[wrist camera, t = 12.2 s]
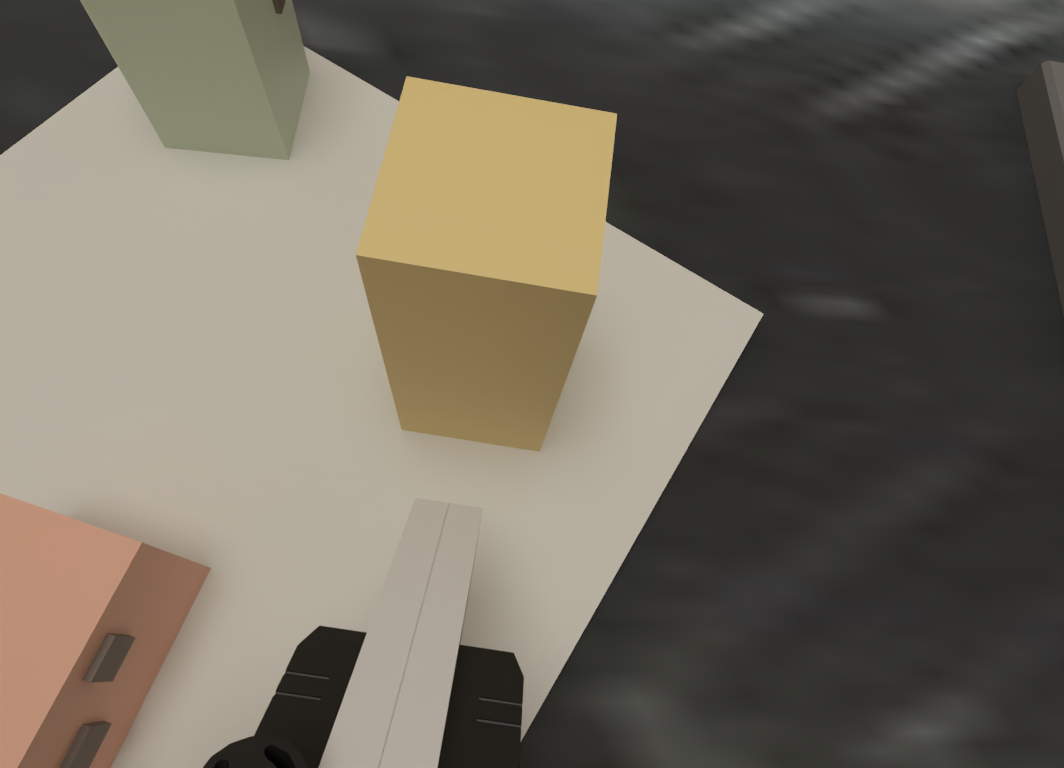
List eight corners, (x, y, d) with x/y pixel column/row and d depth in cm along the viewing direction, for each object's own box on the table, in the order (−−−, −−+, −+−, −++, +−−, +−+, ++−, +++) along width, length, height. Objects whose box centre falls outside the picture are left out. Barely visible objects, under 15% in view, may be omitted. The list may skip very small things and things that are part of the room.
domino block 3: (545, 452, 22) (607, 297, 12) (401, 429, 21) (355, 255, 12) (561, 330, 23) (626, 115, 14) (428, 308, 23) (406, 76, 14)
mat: (-97, 1819, 12) (-125, 1879, 11) (-918, 878, 15) (-971, 887, 14) (756, 321, 25) (763, 313, 24) (219, 7, 28) (214, -6, 28)
